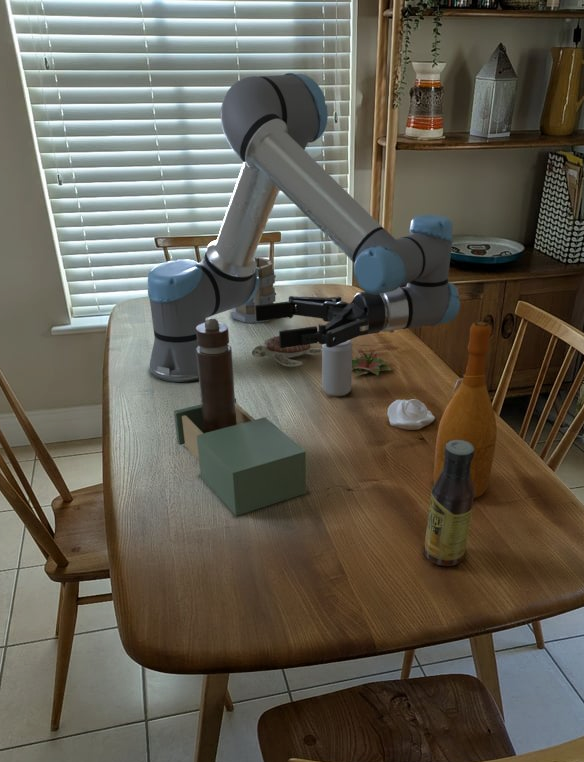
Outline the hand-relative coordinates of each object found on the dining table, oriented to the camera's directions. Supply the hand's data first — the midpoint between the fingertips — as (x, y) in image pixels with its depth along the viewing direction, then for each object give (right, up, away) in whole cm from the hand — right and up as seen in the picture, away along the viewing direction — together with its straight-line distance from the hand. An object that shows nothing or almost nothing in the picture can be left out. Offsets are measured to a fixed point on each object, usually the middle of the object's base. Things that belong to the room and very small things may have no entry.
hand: (267, 326), depth 126 cm
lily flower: (+19, +1, +44) cm, 48 cm away
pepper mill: (-9, -20, +9) cm, 24 cm away
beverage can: (+12, -6, +34) cm, 36 cm away
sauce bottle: (+29, -39, -14) cm, 51 cm away
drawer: (-10, -20, +11) cm, 25 cm away
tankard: (-10, +19, +70) cm, 73 cm away
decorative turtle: (0, +5, +50) cm, 50 cm away
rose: (+27, -14, +23) cm, 38 cm away
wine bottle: (+34, -28, +2) cm, 44 cm away
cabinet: (-3, -28, +2) cm, 28 cm away
